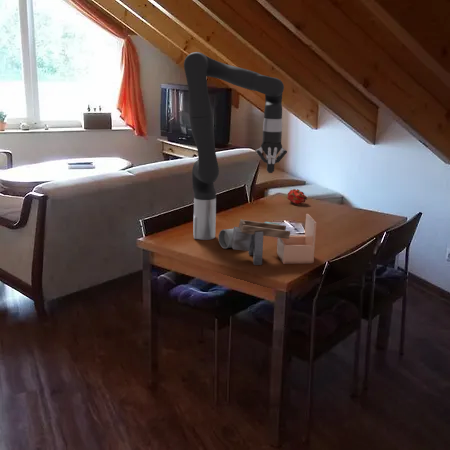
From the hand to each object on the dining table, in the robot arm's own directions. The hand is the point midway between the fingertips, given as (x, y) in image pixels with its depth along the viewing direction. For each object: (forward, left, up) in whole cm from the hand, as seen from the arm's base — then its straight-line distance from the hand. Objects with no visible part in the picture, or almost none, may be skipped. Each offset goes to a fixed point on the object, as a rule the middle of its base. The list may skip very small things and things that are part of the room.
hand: (270, 172), depth 225 cm
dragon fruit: (+28, +61, -29) cm, 73 cm away
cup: (+7, -22, -29) cm, 37 cm away
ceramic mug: (-17, -6, -29) cm, 34 cm away
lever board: (-8, -18, -25) cm, 32 cm away
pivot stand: (-9, -22, -29) cm, 37 cm away
